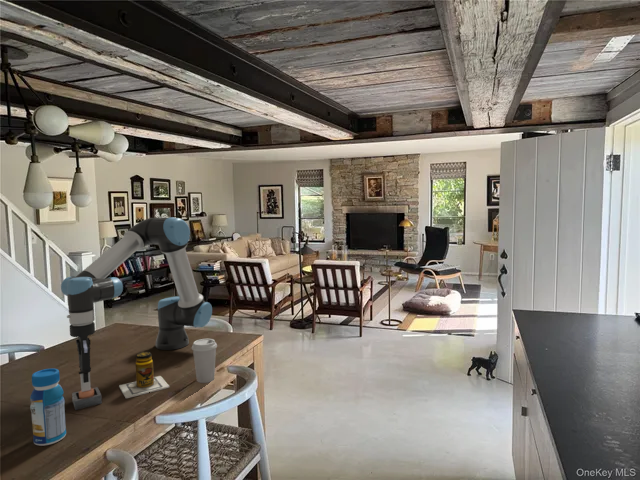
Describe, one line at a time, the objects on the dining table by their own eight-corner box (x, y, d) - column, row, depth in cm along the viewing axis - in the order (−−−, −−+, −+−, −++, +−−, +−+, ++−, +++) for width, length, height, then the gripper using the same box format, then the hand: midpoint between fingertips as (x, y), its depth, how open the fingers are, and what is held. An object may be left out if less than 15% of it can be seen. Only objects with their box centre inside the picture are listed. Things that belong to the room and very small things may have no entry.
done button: (93, 395, 153) (92, 386, 152) (95, 399, 149) (94, 391, 149) (78, 398, 150) (78, 390, 150) (80, 403, 146) (79, 394, 146)
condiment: (146, 390, 157) (144, 357, 156) (127, 387, 160) (125, 355, 159) (159, 382, 164) (158, 351, 163) (141, 379, 167) (139, 349, 166)
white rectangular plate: (160, 377, 170) (160, 375, 170) (169, 387, 161) (169, 385, 160) (119, 387, 162) (119, 385, 162) (125, 398, 152) (125, 396, 152)
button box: (98, 395, 155) (97, 387, 155) (101, 403, 148) (101, 394, 148) (72, 401, 150) (72, 392, 150) (75, 410, 144) (74, 401, 144)
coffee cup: (208, 386, 161) (207, 346, 160) (187, 382, 165) (185, 344, 163) (223, 376, 170) (221, 339, 169) (202, 373, 174) (201, 336, 172)
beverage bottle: (62, 444, 123) (57, 376, 122) (28, 449, 121) (23, 379, 119) (70, 429, 131) (66, 365, 130) (38, 434, 129) (33, 368, 127)
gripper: (67, 320, 150) (71, 386, 152) (71, 329, 140) (75, 400, 141) (91, 317, 154) (95, 381, 156) (97, 325, 144) (101, 394, 146)
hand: (86, 390), depth 149 cm, fingers closed
